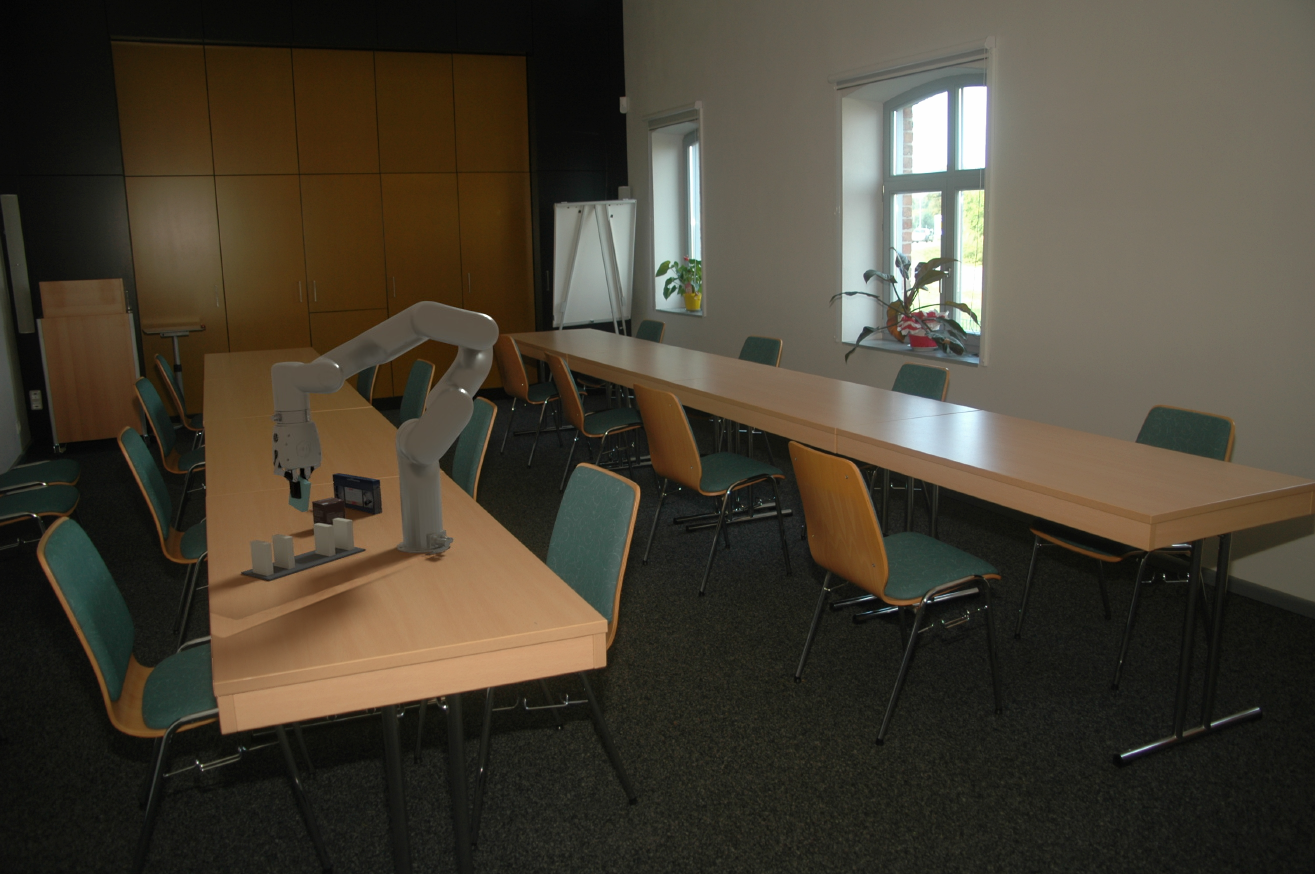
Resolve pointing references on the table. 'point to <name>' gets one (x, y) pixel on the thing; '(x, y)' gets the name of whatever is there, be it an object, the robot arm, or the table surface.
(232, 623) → the table surface
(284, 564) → the domino
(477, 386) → the robot arm
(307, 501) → the teal domino
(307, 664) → the table surface
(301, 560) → the mat
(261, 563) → the domino
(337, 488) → the vhs cassette tape
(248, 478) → the table surface
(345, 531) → the domino
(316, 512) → the box
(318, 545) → the domino
